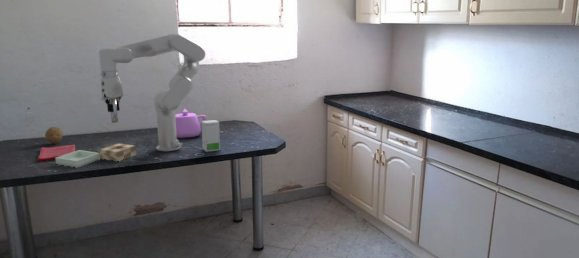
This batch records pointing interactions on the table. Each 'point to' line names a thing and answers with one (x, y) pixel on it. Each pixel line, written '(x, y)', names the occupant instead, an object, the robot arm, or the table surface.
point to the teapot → (188, 124)
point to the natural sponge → (54, 135)
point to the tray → (77, 158)
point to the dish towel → (55, 152)
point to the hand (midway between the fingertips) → (113, 110)
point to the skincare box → (210, 135)
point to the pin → (114, 114)
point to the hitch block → (117, 152)
